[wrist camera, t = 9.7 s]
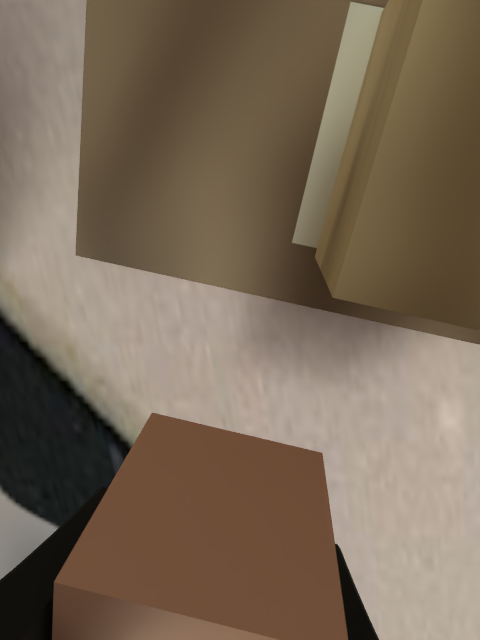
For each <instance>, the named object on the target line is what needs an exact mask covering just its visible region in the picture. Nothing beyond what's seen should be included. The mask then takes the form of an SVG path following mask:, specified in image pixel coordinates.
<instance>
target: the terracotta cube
mask: <svg viewBox="0 0 480 640" xmlns="http://www.w3.org/2000/svg"><path fill="white" fill-rule="evenodd" d="M52 640H348V635H347V628H346V621H345V613H344V606H343V599H342V592H341V585H340V577H339V570H338V563H337V556H336V549H335V541H334V534H333V527H332V520H331V513H330V505H329V498H328V491H327V484H326V477H325V469H324V462H323V455H322V453H320V452H316V451H312V450H307V449H303V448H299V447H295V446H291V445H286V444H282V443H278V442H274V441H269V440H265V439H261V438H257V437H253V436H248V435H244V434H240V433H236V432H231V431H227V430H223V429H219V428H215V427H210V426H206V425H202V424H198V423H194V422H189V421H185V420H181V419H177V418H172V417H168V416H164V415H160V414H156V413H152V414H151V415H150V417H149V419H148V421H147V422H146V424H145V426H144V428H143V429H142V431H141V433H140V434H139V436H138V438H137V440H136V441H135V443H134V445H133V447H132V448H131V450H130V452H129V453H128V455H127V457H126V459H125V460H124V462H123V464H122V465H121V467H120V469H119V471H118V472H117V474H116V476H115V478H114V479H113V481H112V483H111V484H110V486H109V488H108V490H107V491H106V493H105V495H104V497H103V498H102V500H101V502H100V503H99V505H98V507H97V509H96V510H95V512H94V514H93V515H92V517H91V519H90V521H89V522H88V524H87V526H86V528H85V529H84V531H83V533H82V534H81V536H80V538H79V540H78V541H77V543H76V545H75V546H74V548H73V550H72V552H71V553H70V555H69V557H68V559H67V560H66V562H65V564H64V565H63V567H62V569H61V571H60V572H59V574H58V576H57V578H56V579H55V581H54V594H53V623H52Z"/></svg>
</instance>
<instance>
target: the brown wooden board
mask: <svg viewBox="0 0 480 640" xmlns="http://www.w3.org/2000/svg"><path fill="white" fill-rule="evenodd" d="M388 1H389V0H87V8H86V30H85V53H84V76H83V99H82V122H81V145H80V168H79V190H78V213H77V236H76V255H77V256H81V257H86V258H90V259H95V260H99V261H104V262H108V263H113V264H117V265H122V266H126V267H131V268H136V269H140V270H145V271H149V272H154V273H158V274H163V275H167V276H172V277H176V278H181V279H185V280H190V281H194V282H199V283H204V284H208V285H213V286H217V287H222V288H226V289H231V290H235V291H240V292H244V293H249V294H253V295H258V296H262V297H267V298H272V299H276V300H281V301H285V302H290V303H294V304H299V305H303V306H308V307H312V308H317V309H321V310H326V311H330V312H335V313H340V314H344V315H349V316H353V317H358V318H362V319H367V320H371V321H376V322H380V323H385V324H389V325H394V326H398V327H403V328H408V329H412V330H417V331H421V332H426V333H430V334H435V335H439V336H444V337H448V338H453V339H457V340H462V341H466V342H471V343H476V344H480V331H479V330H474V329H470V328H466V327H461V326H457V325H452V324H448V323H443V322H439V321H434V320H430V319H426V318H421V317H417V316H412V315H408V314H403V313H399V312H394V311H390V310H385V309H381V308H377V307H372V306H368V305H363V304H359V303H354V302H350V301H345V300H341V299H336V298H333V297H332V295H331V293H330V290H329V288H328V286H327V284H326V281H325V279H324V277H323V275H322V272H321V270H320V268H319V265H318V263H317V261H316V259H315V254H316V250H317V247H318V243H319V240H320V236H321V232H322V229H323V225H324V221H325V218H326V214H327V210H328V207H329V203H330V199H331V196H332V192H333V188H334V185H335V181H336V177H337V174H338V170H339V167H340V163H341V159H342V156H343V152H344V148H345V145H346V141H347V137H348V134H349V130H350V126H351V123H352V119H353V115H354V112H355V108H356V104H357V101H358V97H359V94H360V90H361V86H362V83H363V79H364V75H365V72H366V68H367V64H368V61H369V57H370V53H371V50H372V46H373V42H374V39H375V35H376V32H377V28H378V24H379V21H380V17H381V13H382V11H383V9H384V8H385V6H386V4H387V2H388Z"/></svg>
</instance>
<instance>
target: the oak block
mask: <svg viewBox="0 0 480 640" xmlns="http://www.w3.org/2000/svg"><path fill="white" fill-rule="evenodd" d="M315 259H316V261H317V263H318V265H319V268H320V270H321V272H322V275H323V277H324V279H325V281H326V284H327V286H328V288H329V290H330V293H331V295H332V297H333V298H336V299H341V300H345V301H350V302H354V303H359V304H363V305H368V306H372V307H377V308H381V309H385V310H390V311H394V312H399V313H403V314H408V315H412V316H417V317H421V318H426V319H430V320H434V321H439V322H443V323H448V324H452V325H457V326H461V327H466V328H470V329H474V330H479V331H480V0H389V1H388V2H387V4H386V6H385V8H384V9H383V11H382V13H381V17H380V21H379V24H378V28H377V32H376V35H375V39H374V42H373V46H372V50H371V53H370V57H369V61H368V64H367V68H366V72H365V75H364V79H363V83H362V86H361V90H360V94H359V97H358V101H357V104H356V108H355V112H354V115H353V119H352V123H351V126H350V130H349V134H348V137H347V141H346V145H345V148H344V152H343V156H342V159H341V163H340V167H339V170H338V174H337V177H336V181H335V185H334V188H333V192H332V196H331V199H330V203H329V207H328V210H327V214H326V218H325V221H324V225H323V229H322V232H321V236H320V240H319V243H318V247H317V250H316V254H315Z"/></svg>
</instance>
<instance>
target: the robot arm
mask: <svg viewBox="0 0 480 640" xmlns="http://www.w3.org/2000/svg"><path fill="white" fill-rule="evenodd" d="M107 490H108V488H105V487H101V488H99V489H98V490H97V491H96V492H95V493H94V494H93V495H92V496H91V497H90V498H89V499H88V500H87V501H86V502H85V503H84V504H83V505H82V506H81V507H80V508H79V509H78V510H77V511H76V512H75V513H74V514H73V515H72V516H71V517H70V518H69V519H68V520H67V521H66V522H65V523H64V524H63V525H62V526H60V527H59V528H58V529H57V530H56V531H55V532H54V533H53V534H52V535H51V536H50V537H49V538H48V539H47V540H45V541H44V542H43V543H42V544H41V545H40V546H39V547H38V548H37V549H35V550H34V551H33V552H32V553H31V554H30V555H29V556H28V557H27V558H25V559H24V560H23V561H22V562H21V563H20V564H19V565H17V566H16V567H15V568H14V569H13V570H12V571H10V572H9V573H8V574H7V575H6V576H5V577H3V578H2V579H1V580H0V640H52V623H53V594H54V581H55V579H56V578H57V576H58V574H59V572H60V571H61V569H62V567H63V565H64V564H65V562H66V560H67V559H68V557H69V555H70V553H71V552H72V550H73V548H74V546H75V545H76V543H77V541H78V540H79V538H80V536H81V534H82V533H83V531H84V529H85V528H86V526H87V524H88V522H89V521H90V519H91V517H92V515H93V514H94V512H95V510H96V509H97V507H98V505H99V503H100V502H101V500H102V498H103V497H104V495H105V493H106V491H107ZM335 549H336V556H337V563H338V570H339V577H340V585H341V592H342V599H343V606H344V613H345V621H346V628H347V635H348V640H379V639H378V636H377V634H376V632H375V630H374V628H373V626H372V623H371V621H370V619H369V617H368V614H367V612H366V610H365V608H364V605H363V603H362V601H361V598H360V596H359V594H358V591H357V589H356V586H355V584H354V582H353V579H352V577H351V574H350V572H349V569H348V567H347V564H346V562H345V559H344V557H343V554H342V552H341V549H340V548H339V546H338V545H337V544H335Z"/></svg>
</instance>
